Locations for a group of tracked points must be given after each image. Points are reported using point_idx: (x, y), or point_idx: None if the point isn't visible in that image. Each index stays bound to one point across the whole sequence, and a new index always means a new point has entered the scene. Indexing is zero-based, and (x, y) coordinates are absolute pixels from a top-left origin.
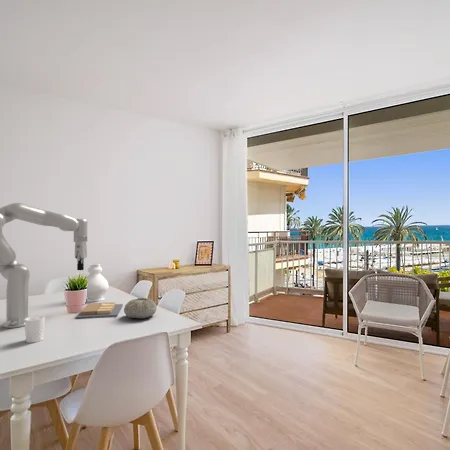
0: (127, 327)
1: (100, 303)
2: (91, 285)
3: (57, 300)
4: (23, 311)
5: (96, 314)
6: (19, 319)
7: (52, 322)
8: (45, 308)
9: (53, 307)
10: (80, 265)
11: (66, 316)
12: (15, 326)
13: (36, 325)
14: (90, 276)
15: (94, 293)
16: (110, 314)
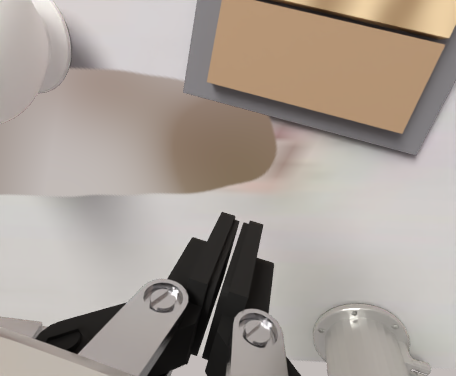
0: None
1: (239, 6)
2: (4, 63)
3: (20, 208)
4: (406, 373)
5: (436, 40)
6: (407, 358)
7: (410, 242)
8: (148, 252)
9: (140, 227)
10: (266, 309)
11: (334, 188)
12: (408, 348)
13: None
14: None
15: (45, 42)
16: None
